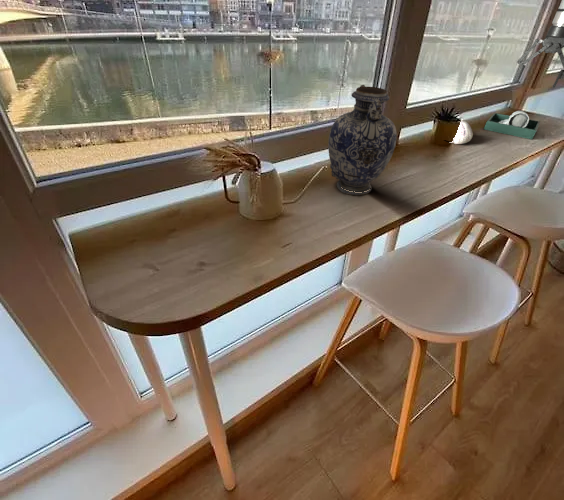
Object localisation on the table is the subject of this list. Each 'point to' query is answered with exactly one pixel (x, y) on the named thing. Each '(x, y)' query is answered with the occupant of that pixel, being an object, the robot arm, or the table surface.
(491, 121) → the tray
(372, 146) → the decorative vase
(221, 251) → the table surface
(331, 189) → the table surface
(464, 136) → the sea urchin shell
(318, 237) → the table surface
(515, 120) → the ceramic mug
